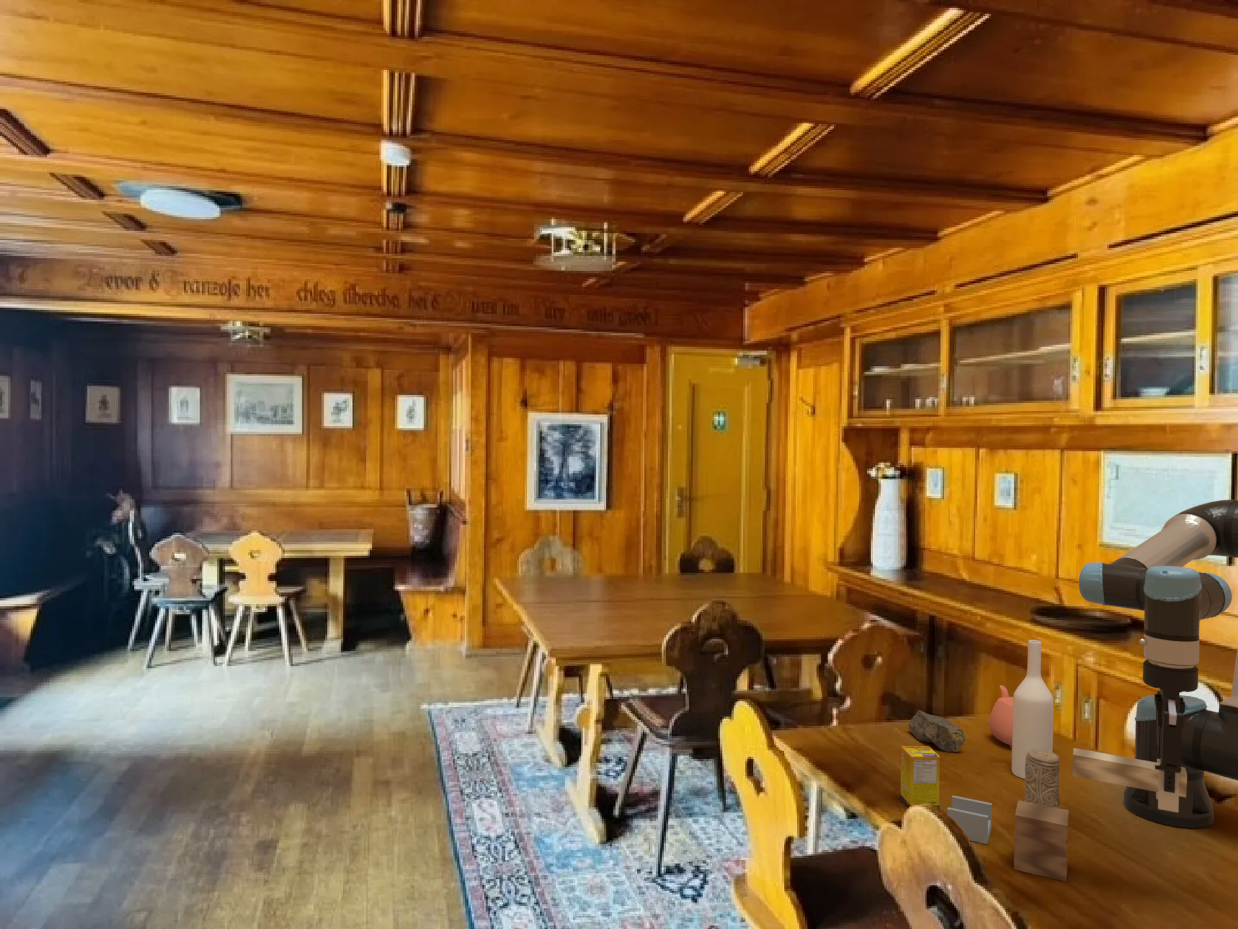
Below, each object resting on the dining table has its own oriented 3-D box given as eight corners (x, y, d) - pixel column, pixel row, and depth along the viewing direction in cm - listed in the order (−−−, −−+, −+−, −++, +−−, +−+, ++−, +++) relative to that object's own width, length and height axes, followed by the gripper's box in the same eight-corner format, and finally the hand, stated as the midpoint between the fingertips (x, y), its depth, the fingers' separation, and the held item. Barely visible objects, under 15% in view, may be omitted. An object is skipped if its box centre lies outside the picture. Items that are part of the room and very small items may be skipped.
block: (1067, 863, 147) (1068, 810, 146) (1066, 881, 140) (1067, 826, 140) (1017, 852, 150) (1018, 800, 150) (1013, 869, 144) (1015, 815, 144)
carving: (1060, 810, 168) (1062, 751, 168) (1058, 824, 162) (1059, 763, 162) (1025, 803, 172) (1027, 745, 171) (1022, 816, 165) (1023, 756, 165)
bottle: (1013, 779, 184) (1017, 643, 183) (1009, 765, 192) (1012, 635, 191) (1054, 784, 181) (1058, 646, 181) (1048, 770, 189) (1051, 638, 188)
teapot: (1024, 729, 217) (1025, 682, 217) (1068, 758, 197) (1069, 706, 197) (973, 729, 217) (974, 682, 216) (1012, 758, 197) (1013, 706, 196)
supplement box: (927, 797, 174) (928, 745, 174) (939, 810, 168) (940, 756, 168) (899, 797, 174) (900, 745, 173) (910, 810, 168) (911, 756, 167)
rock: (980, 733, 200) (950, 727, 196) (973, 761, 200) (942, 755, 196) (929, 709, 216) (900, 703, 212) (923, 735, 216) (893, 729, 212)
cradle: (991, 829, 159) (991, 803, 159) (987, 844, 153) (987, 817, 153) (952, 820, 163) (952, 795, 163) (946, 835, 157) (947, 809, 157)
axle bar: (1183, 789, 137) (1184, 767, 137) (1186, 797, 134) (1187, 775, 133) (1072, 768, 145) (1073, 748, 144) (1072, 775, 141) (1073, 754, 141)
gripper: (1140, 648, 145) (1137, 782, 145) (1146, 671, 130) (1142, 819, 131) (1192, 654, 141) (1189, 791, 142) (1204, 678, 127) (1200, 831, 127)
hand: (1167, 804), depth 136 cm, fingers closed on axle bar, 4 cm apart
